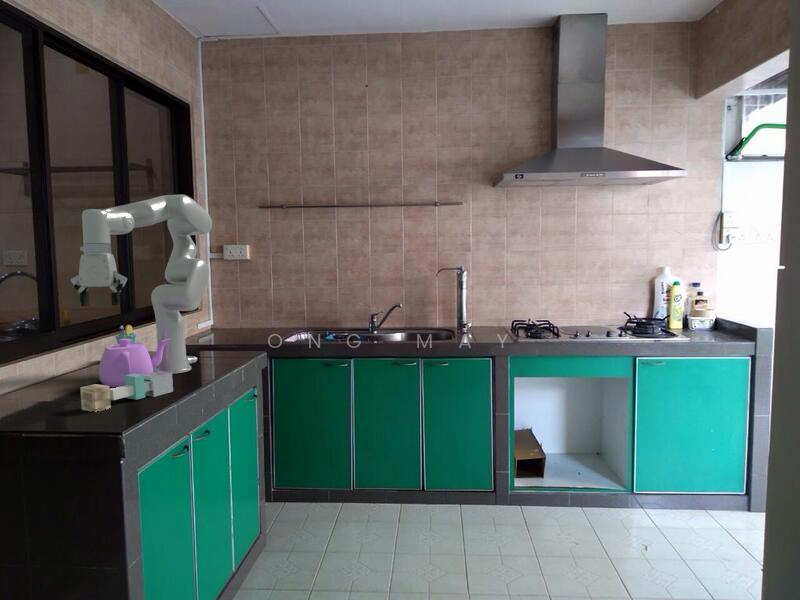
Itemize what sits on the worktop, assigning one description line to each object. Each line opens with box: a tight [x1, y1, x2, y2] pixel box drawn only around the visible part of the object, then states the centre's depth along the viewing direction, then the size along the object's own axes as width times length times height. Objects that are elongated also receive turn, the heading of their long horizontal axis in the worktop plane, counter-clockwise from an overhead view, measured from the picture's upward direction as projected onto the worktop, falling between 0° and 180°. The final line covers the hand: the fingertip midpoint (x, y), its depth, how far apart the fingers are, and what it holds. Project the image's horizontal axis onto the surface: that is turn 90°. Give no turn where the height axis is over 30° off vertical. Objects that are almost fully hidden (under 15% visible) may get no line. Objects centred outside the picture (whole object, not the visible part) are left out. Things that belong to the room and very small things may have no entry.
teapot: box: [98, 339, 170, 388], centre depth 200 cm, size 23×21×15 cm
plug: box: [110, 374, 151, 401], centre depth 181 cm, size 18×5×7 cm, turn 150°
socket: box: [79, 383, 112, 413], centre depth 169 cm, size 4×6×6 cm
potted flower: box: [114, 324, 137, 344], centre depth 243 cm, size 14×8×15 cm, turn 12°
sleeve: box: [144, 371, 174, 398], centre depth 186 cm, size 7×6×6 cm
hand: (100, 305), depth 187 cm, fingers open, 9 cm apart
